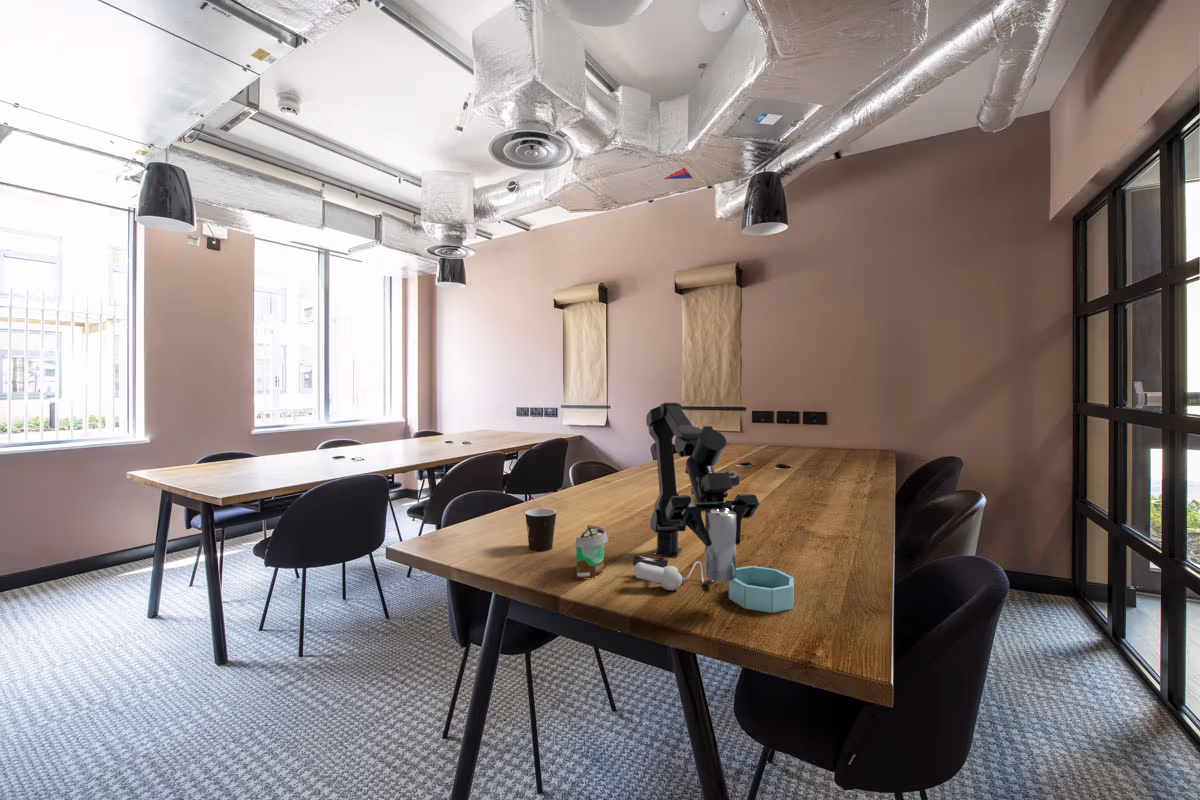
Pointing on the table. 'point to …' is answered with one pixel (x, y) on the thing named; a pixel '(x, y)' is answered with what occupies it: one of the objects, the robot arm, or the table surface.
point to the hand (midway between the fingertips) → (723, 544)
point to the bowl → (762, 589)
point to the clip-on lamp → (661, 572)
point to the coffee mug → (540, 529)
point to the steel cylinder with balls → (720, 544)
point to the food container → (590, 552)
